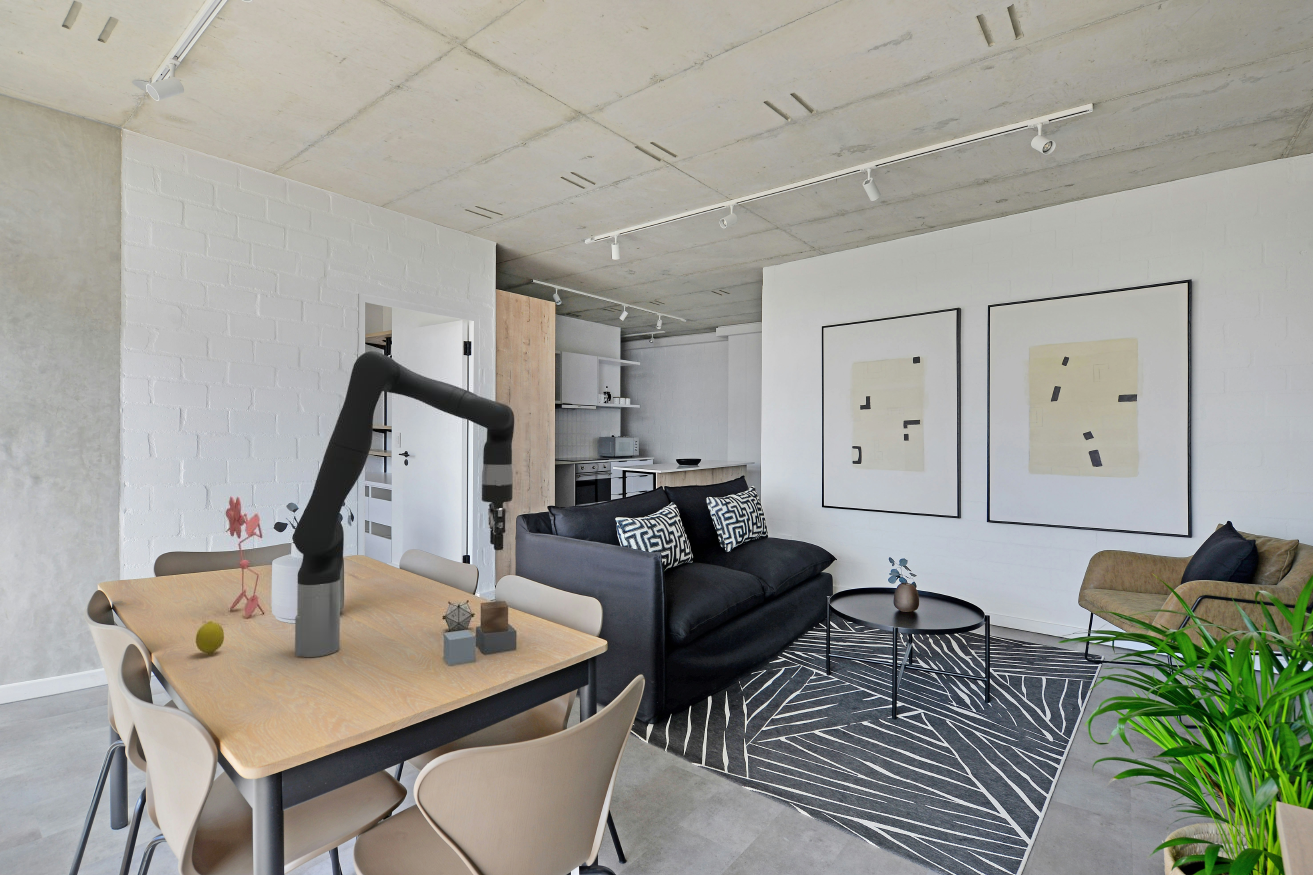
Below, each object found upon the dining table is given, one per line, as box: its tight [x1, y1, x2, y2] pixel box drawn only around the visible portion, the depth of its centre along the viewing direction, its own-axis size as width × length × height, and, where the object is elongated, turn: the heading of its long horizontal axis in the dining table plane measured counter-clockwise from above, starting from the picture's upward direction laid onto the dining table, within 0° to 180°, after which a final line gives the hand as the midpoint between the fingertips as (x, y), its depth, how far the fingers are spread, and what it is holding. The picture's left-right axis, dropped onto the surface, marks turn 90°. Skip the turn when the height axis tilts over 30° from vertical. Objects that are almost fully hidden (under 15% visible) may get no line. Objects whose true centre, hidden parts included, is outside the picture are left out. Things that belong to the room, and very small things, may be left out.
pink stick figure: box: [225, 495, 265, 619], centre depth 183 cm, size 15×26×35 cm, turn 49°
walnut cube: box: [480, 600, 509, 633], centre depth 158 cm, size 6×6×6 cm
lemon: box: [195, 620, 225, 656], centre depth 151 cm, size 6×6×8 cm
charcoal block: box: [475, 623, 517, 656], centre depth 158 cm, size 8×8×5 cm
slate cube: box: [443, 629, 476, 667], centre depth 149 cm, size 6×6×6 cm
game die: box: [442, 599, 476, 633], centre depth 171 cm, size 9×8×10 cm
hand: (496, 546), depth 158 cm, fingers open, 8 cm apart
